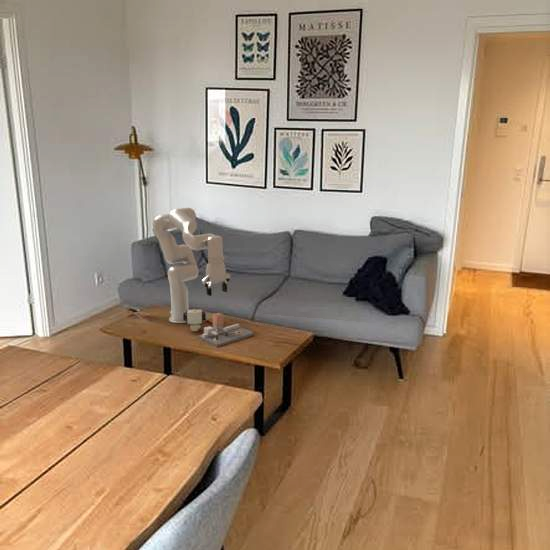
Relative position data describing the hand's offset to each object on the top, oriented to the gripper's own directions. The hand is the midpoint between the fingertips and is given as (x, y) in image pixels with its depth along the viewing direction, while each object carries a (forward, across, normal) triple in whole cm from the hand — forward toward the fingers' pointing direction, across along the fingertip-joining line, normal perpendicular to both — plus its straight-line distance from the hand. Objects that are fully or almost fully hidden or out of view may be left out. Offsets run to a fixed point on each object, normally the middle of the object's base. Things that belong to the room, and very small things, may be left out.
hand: (217, 293), depth 277 cm
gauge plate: (+23, -2, +4) cm, 23 cm away
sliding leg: (+21, 0, +2) cm, 21 cm away
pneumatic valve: (+23, +4, -16) cm, 28 cm away
